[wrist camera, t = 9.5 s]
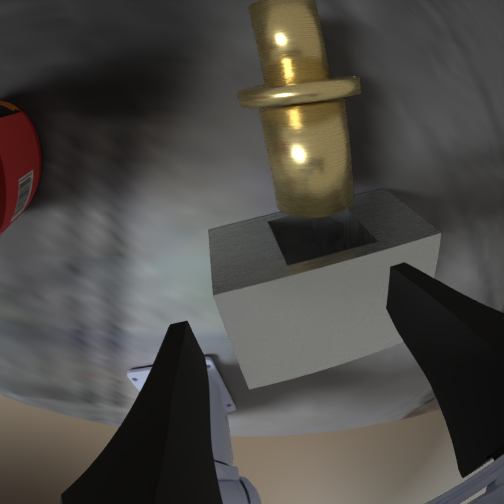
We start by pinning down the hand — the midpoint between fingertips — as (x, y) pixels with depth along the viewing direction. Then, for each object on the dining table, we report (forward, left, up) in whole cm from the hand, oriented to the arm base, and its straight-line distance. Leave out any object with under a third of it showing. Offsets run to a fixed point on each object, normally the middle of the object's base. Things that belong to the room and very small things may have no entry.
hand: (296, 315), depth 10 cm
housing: (-5, -3, -10) cm, 11 cm away
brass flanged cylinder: (+7, -3, -10) cm, 12 cm away
